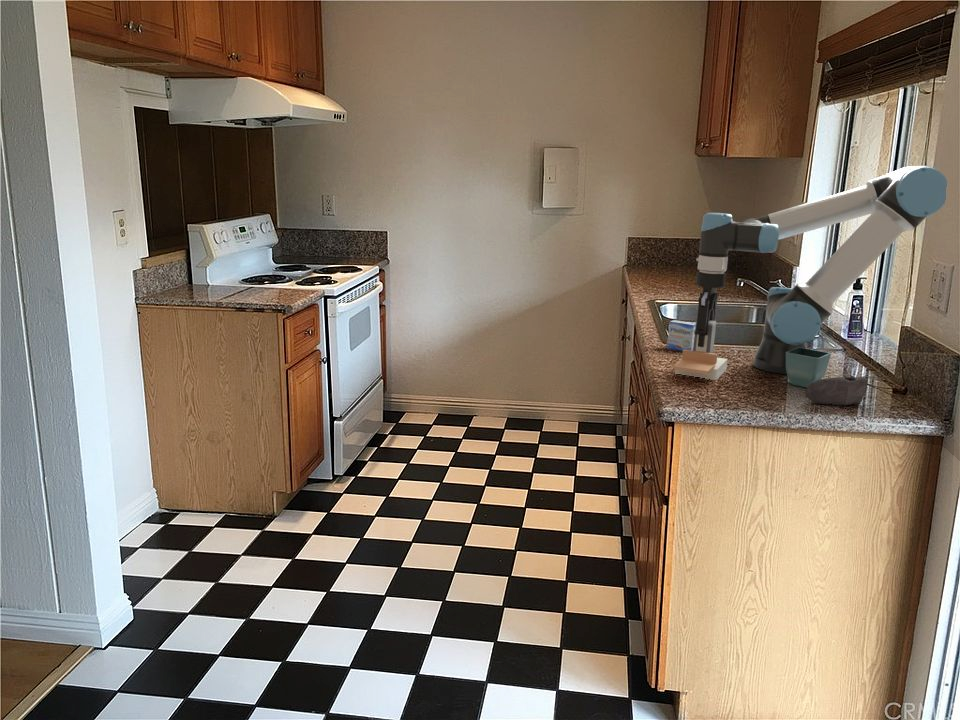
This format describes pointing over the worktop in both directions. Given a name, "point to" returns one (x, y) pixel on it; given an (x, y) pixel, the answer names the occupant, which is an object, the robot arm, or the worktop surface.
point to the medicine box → (681, 335)
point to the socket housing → (712, 375)
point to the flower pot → (806, 366)
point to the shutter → (696, 361)
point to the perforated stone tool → (837, 390)
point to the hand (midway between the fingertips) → (702, 355)
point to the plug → (710, 337)
